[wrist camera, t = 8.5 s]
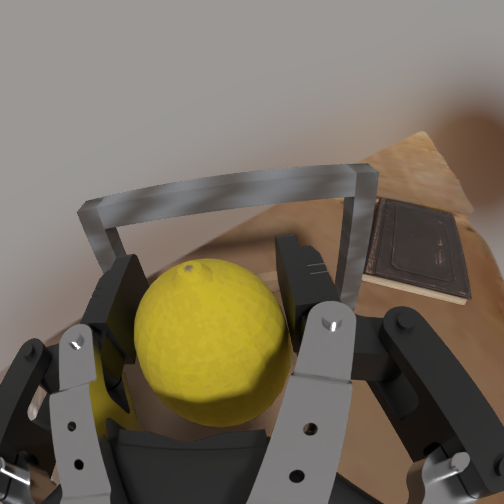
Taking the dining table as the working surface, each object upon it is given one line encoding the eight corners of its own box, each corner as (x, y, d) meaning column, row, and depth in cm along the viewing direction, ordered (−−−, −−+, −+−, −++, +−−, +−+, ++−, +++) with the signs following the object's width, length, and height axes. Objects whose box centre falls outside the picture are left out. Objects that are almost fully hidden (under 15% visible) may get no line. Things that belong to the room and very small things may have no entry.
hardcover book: (450, 225, 43) (453, 214, 42) (465, 310, 28) (471, 298, 26) (377, 207, 50) (379, 197, 49) (358, 284, 34) (361, 270, 33)
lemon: (159, 379, 13) (88, 258, 8) (247, 334, 15) (227, 202, 10) (209, 467, 9) (121, 394, 4) (312, 404, 11) (339, 276, 7)
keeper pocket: (136, 378, 25) (50, 246, 15) (152, 297, 35) (107, 177, 25) (366, 350, 26) (411, 198, 15) (332, 274, 35) (343, 146, 25)
